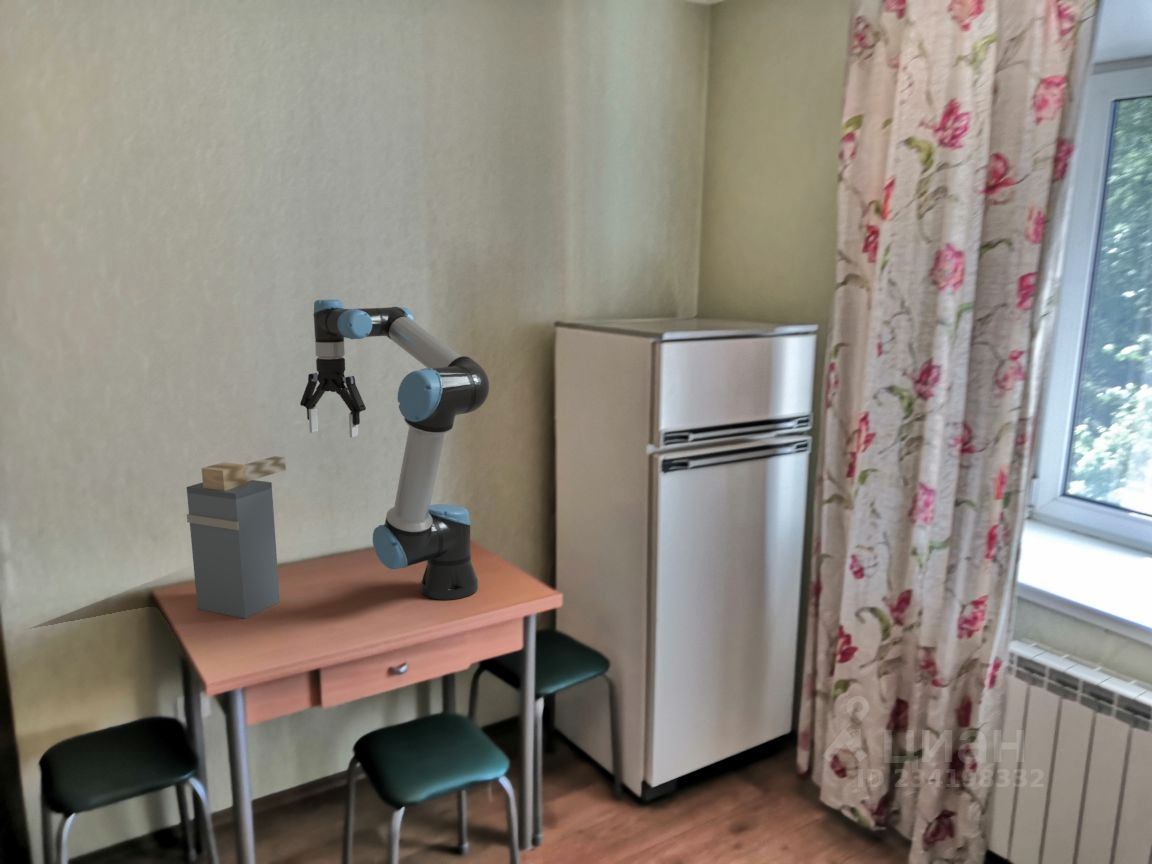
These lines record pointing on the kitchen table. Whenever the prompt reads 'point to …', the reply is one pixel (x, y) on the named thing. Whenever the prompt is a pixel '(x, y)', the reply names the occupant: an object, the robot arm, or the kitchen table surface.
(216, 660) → the kitchen table surface
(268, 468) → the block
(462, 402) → the robot arm
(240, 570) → the lidded box
